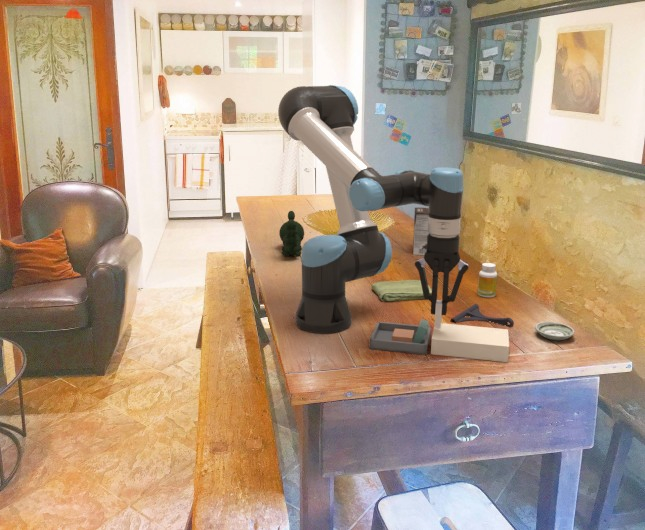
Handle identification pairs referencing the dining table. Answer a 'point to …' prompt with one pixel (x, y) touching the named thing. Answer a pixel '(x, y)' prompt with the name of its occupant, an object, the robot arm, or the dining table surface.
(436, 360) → the dining table surface
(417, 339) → the green glazed tile
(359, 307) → the dining table surface
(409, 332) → the terracotta tile
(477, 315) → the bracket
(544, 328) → the saucer
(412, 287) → the washcloth
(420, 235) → the coffee box
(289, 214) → the toy figurine
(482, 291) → the supplement bottle
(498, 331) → the cream board
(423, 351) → the tray
